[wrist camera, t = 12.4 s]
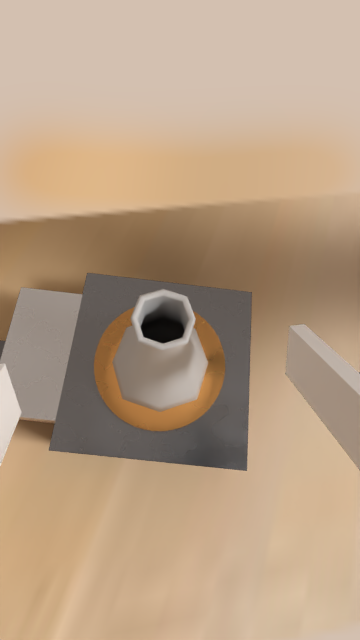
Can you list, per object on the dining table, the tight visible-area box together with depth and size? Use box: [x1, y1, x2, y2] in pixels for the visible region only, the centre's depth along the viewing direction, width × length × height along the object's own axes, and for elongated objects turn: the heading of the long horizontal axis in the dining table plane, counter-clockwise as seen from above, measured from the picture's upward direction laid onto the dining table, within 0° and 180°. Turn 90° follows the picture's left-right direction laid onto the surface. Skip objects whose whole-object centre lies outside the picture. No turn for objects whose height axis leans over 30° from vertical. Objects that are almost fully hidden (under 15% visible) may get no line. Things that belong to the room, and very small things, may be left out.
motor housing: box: [0, 273, 252, 471], centre depth 29 cm, size 22×14×7 cm, turn 84°
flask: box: [112, 289, 208, 412], centre depth 21 cm, size 7×7×10 cm
